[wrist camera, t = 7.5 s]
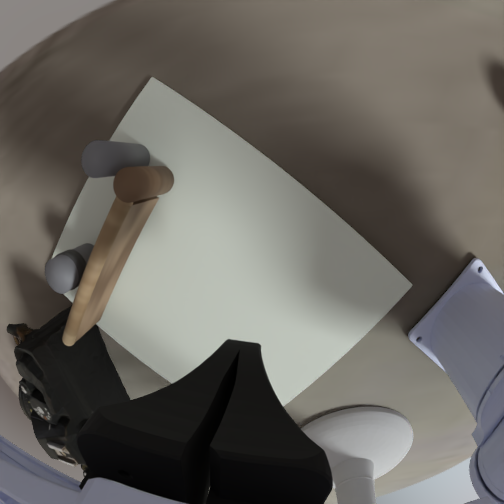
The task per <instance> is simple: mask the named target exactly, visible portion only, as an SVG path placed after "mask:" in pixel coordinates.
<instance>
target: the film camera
mask: <svg viewBox="0 0 504 504" xmlns="http://www.w3.org/2000/svg"><path fill="white" fill-rule="evenodd" d="M70 310H71V307H70V308H67V309H66V310H64V311H62V312H61V313H59V314H58V315H57V316H56V317H54V318H53V319H52V320H50V321H49V322H48V323H46V324H45V325H44V326H42V327H41V328H40V329H35V330H33V329H30V328H28V327H27V325H26V324H24V323H23V324H9V325H8V326H7V332H8V333H10V334H12V335H13V336H14V340H15V342H16V344H17V345H18V346H16V347H15V350H14V353H15V357H16V359H17V361H16V366H17V369H18V371H19V374H20V375H21V376H22V377H23V378H22V380H21V381H19V383H20V385H19V401H20V405H21V408H22V410H23V412H24V414H25V415H26V416H27V417H28V418H29V419H30V420H31V421H32V425H33V429H34V433H35V435H36V438H37V440H38V442H39V443H40V445H41V446H42V448H43V449H44V450H45V451H46V452H47V454H48V455H49V456H50V457H51V458H54V459H57V460H60V461H61V462H63V463H66V464H68V465H70V466H74V467H75V466H76V465H78V464H81V468H82V469H83V470H84V472H83V475H84V477H85V476H86V474H87V472H88V471H89V469H88V467H87V465H86V463H85V461H84V459H83V457H82V455H81V453H80V450H79V448H78V445H77V442H76V438H77V434H78V433H79V431H80V430H81V429H82V427H83V426H84V425H85V423H86V422H87V421H88V419H89V418H90V417H91V415H92V414H93V413H94V412H95V411H96V410H97V409H98V408H99V407H100V406H107V405H112V404H117V403H122V402H126V401H130V398H129V396H128V395H127V393H126V391H125V388H124V386H123V384H122V383H121V379H120V377H119V375H118V373H117V371H116V370H115V368H114V365H113V363H112V361H111V359H110V357H109V355H108V353H107V350H106V347H105V344H104V342H103V339H102V337H101V335H100V332H99V329H98V327H97V325H96V324H95V325H94V326H93V327H92V328H91V329H90V330H88V331H87V332H86V333H85V334H84V335H83V336H82V337H81V338H80V339H78V340H77V341H76V342H75V343H74V345H72V346H67V345H65V344H64V343H63V340H62V337H63V333H64V330H65V326H66V323H67V320H68V317H69V313H70ZM18 338H19V340H20V341H21V342H20V344H19V340H18Z"/></svg>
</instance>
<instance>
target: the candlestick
mask: <svg viewBox="0 0 504 504" xmlns="http://www.w3.org/2000/svg"><path fill="white" fill-rule="evenodd" d="M301 430H302V431H303V432H304V433H305V434H306V435H307V436H308V437H309V438H310V439H311V440H312V441H314V442H315V443H316V444H317V445H318V446H320V447H321V448H322V449H323V450H324V451H325V453H326V456H327V459H328V461H329V465H330V468H331V472H332V477H333V487H332V488H335V492H336V495H337V501H338V504H376V499H375V488H374V483H375V482H374V479H376V478H378V477H380V476H382V475H384V474H385V473H387V472H388V471H390V470H391V469H392V468H394V467H395V466H396V465H397V464H398V463H399V462H400V461H401V460H402V459H403V458H404V457H405V455H406V454H407V452H408V451H409V449H410V447H411V445H412V442H413V430H412V427H411V425H410V422H409V421H408V419H407V418H406V417H405V416H404V415H402V414H401V413H399V412H397V411H395V410H392V409H388V408H383V407H355V408H349V409H344V410H340V411H336V412H333V413H330V414H327V415H324V416H322V417H320V418H317V419H315V420H313V421H312V422H310V423H308V424H306V425H305V426H303V427H302V428H301Z"/></svg>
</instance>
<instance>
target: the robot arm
mask: <svg viewBox="0 0 504 504" xmlns="http://www.w3.org/2000/svg"><path fill="white" fill-rule="evenodd" d="M479 267H480V270H479V271H478V268H479ZM408 337H409V339H410V341H412V342H413V343H414V344H415V345H416V346H417V347H418V348H419V349H421V350H422V351H423V352H424V353H425V354H426V355H427V356H428V357H429V358H431V359H432V360H433V361H434V362H435V363H436V364H437V365H438V366H439V367H440V368H442V369H443V370H444V371H445V372H446V373H447V374H448V376H449V377H450V379H451V381H452V382H453V384H454V385H455V387H456V389H457V390H458V392H459V393H460V395H461V397H462V398H463V400H464V402H465V403H466V405H467V407H468V408H469V410H470V412H471V413H472V415H473V417H474V419H475V420H476V422H477V426H476V429H475V430H474V432H473V433H472V436H473V438H474V440H475V442H476V444H477V446H478V447H477V449H476V450H475V451H474V453H473V455H472V457H471V460H470V465H469V468H470V477H471V481H472V484H473V486H474V489H475V491H476V492H477V494H478V496H479V497H480V499H477V500H474V501H470V502H467V503H465V504H504V293H503V291H502V290H501V288H500V287H499V285H498V284H497V282H496V281H495V280H494V278H493V277H492V275H491V274H490V272H489V271H488V270H487V268H486V267H485V265H484V264H483V263H482V261H481V260H480V259H478V258H474V259H473V260H472V261H471V262H470V263H469V264H468V266H467V267H466V268H465V270H464V271H463V272H462V273H461V274H460V276H459V277H458V278H457V279H456V281H455V282H454V283H453V284H452V285H451V287H450V288H449V289H448V290H447V291H446V292H445V294H444V295H443V296H442V297H441V298H440V299H439V300H438V302H437V303H436V304H435V305H434V306H433V307H432V308H431V309H430V310H429V312H428V313H427V314H426V315H425V316H424V317H423V318H422V319H421V320H420V321H419V322H418V323H417V324H416V325H415V326H414V327H413V328H412V329H411V330H410V332H409V334H408ZM418 337H420V338H419V339H418V340H416V339H417V338H418ZM76 442H77V445H78V448H79V450H80V453H81V455H82V457H83V459H84V461H85V463H86V465H87V467H88V469H89V471H88V472H87V474H86V476H85V477H84V479H83V480H82V482H79V481H77V480H75V479H73V478H71V477H69V476H67V475H65V474H63V473H61V472H59V471H58V470H56V469H54V468H52V467H50V466H49V465H47V464H45V463H43V462H41V461H40V460H38V459H36V458H35V457H33V456H31V455H30V454H28V453H27V452H25V451H23V450H22V449H20V448H19V447H17V446H16V445H14V444H13V443H11V442H10V441H8V440H7V439H5V438H4V437H2V436H1V435H0V504H324V502H325V500H326V499H327V497H328V496H329V494H330V492H331V490H332V487H333V477H332V472H331V468H330V465H329V461H328V459H327V456H326V453H325V451H324V450H323V449H322V448H321V447H320V446H318V445H317V444H316V443H315V442H314V441H312V440H311V439H310V438H309V437H308V436H307V435H306V434H305V433H304V432H303V431H302V430H301V429H300V428H299V427H298V426H297V424H296V423H295V422H294V421H293V419H292V418H291V417H290V416H289V414H288V413H287V412H286V410H285V409H284V407H283V406H282V404H281V402H280V401H279V399H278V397H277V396H276V394H275V392H274V390H273V388H272V385H271V383H270V381H269V378H268V376H267V373H266V370H265V367H264V363H263V359H262V354H261V345H260V344H259V343H254V342H246V341H239V340H232V339H227V340H226V341H225V342H224V343H223V344H222V345H221V346H220V347H219V348H218V349H217V350H216V351H215V352H214V353H213V354H212V355H211V356H210V357H208V358H207V359H206V360H205V361H204V362H203V363H201V364H200V365H199V366H198V367H196V368H195V369H194V370H192V371H191V372H190V373H188V374H187V375H185V376H184V377H182V378H181V379H179V380H178V381H176V382H174V383H172V384H171V385H169V386H167V387H165V388H162V389H160V390H158V391H156V392H153V393H151V394H149V395H146V396H143V397H140V398H137V399H133V400H130V401H126V402H122V403H117V404H112V405H107V406H100V407H99V408H98V409H97V410H96V411H95V412H94V413H93V414H92V415H91V417H90V418H89V419H88V421H87V422H86V423H85V425H84V426H83V427H82V429H81V430H80V431H79V433H78V434H77V438H76ZM209 488H210V490H209ZM208 492H209V493H208Z"/></svg>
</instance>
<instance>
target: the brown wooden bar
mask: <svg viewBox="0 0 504 504" xmlns="http://www.w3.org/2000/svg"><path fill="white" fill-rule="evenodd" d="M173 184H174V176H173V173H172V171H171V170H170V169H169V168H167V167H165V166H138V167H125V168H122V169H121V170H119V171H118V172H117V174H116V176H115V178H114V181H113V189H114V192H115V194H116V198H115V200H114V202H113V204H112V206H111V208H110V211H109V213H108V215H107V217H106V219H105V222H104V224H103V226H102V228H101V231H100V233H99V235H98V238H97V240H96V243H95V245H94V247H93V250H92V252H91V255H90V257H89V260H88V263H87V265H86V268H85V270H84V273H83V276H82V278H81V281H80V284H79V287H78V290H77V292H76V295H75V298H74V301H73V304H72V307H71V310H70V313H69V317H68V320H67V323H66V326H65V330H64V333H63V337H62V340H63V343H64V344H65V345H67V346H72V345H74V343H75V342H76V341H77V340H78V339H80V338H81V337H82V336H83V335H84V334H85V333H86V332H87V331H88V330H90V329H91V328H92V327H93V326H94V325H95V324H96V323H97V322H98V321H100V319H101V317H102V315H103V312H104V310H105V307H106V305H107V303H108V301H109V298H110V296H111V294H112V292H113V289H114V287H115V285H116V283H117V280H118V278H119V276H120V274H121V272H122V270H123V268H124V266H125V263H126V261H127V259H128V257H129V255H130V253H131V251H132V249H133V247H134V245H135V243H136V241H137V239H138V237H139V235H140V233H141V231H142V229H143V227H144V225H145V224H146V222H147V220H148V218H149V216H150V214H151V212H152V210H153V208H154V207H155V205H156V203H157V201H158V199H159V197H157V196H158V195H162V194H165V193H167V192H169V191H170V190H171V188H172V187H173Z"/></svg>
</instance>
